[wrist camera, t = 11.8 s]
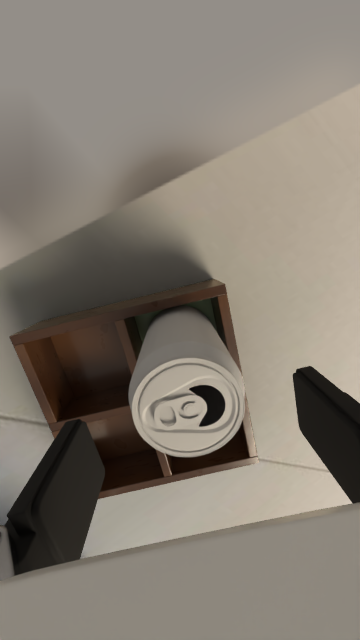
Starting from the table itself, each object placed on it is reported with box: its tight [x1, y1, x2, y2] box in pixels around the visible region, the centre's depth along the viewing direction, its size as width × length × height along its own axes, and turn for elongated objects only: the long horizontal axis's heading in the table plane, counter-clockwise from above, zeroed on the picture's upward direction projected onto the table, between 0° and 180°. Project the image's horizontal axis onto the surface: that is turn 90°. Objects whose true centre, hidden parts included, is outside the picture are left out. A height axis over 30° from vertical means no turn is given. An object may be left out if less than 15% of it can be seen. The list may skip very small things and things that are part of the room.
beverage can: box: [128, 305, 245, 457], centre depth 18 cm, size 6×6×12 cm
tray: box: [10, 279, 259, 499], centre depth 23 cm, size 17×17×5 cm
